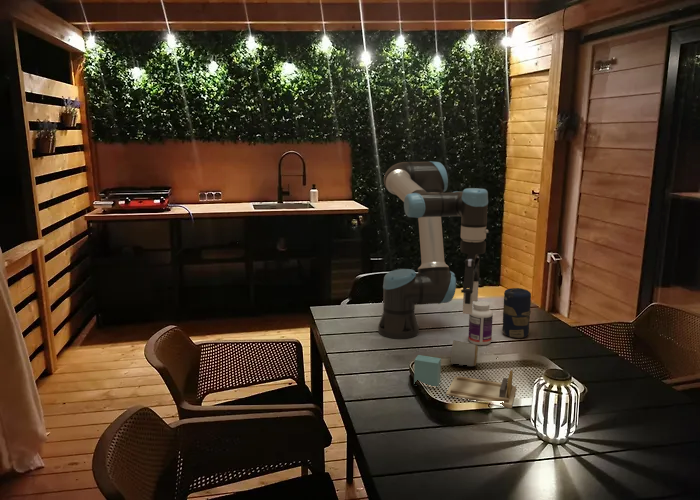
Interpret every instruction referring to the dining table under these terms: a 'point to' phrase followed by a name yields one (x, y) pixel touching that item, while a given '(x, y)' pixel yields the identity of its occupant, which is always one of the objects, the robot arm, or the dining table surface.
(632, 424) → the dining table surface
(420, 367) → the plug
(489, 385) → the wooden tray
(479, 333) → the pill bottle
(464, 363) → the grey rectangular block
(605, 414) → the dining table surface
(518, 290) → the canister
